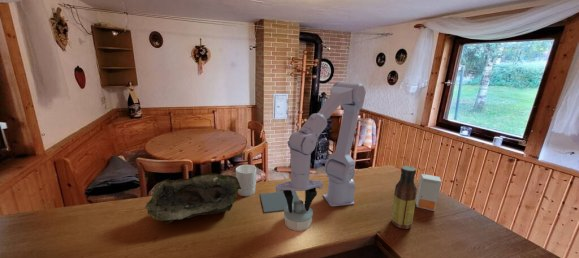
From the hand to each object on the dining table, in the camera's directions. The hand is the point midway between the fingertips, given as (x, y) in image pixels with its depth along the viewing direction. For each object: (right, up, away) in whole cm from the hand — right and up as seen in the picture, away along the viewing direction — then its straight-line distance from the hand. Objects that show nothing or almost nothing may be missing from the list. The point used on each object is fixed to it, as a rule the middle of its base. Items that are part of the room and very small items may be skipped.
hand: (298, 210), depth 76 cm
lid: (0, -1, 0) cm, 1 cm away
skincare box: (+47, -3, +13) cm, 49 cm away
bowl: (0, -4, +1) cm, 5 cm away
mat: (-6, -1, +13) cm, 14 cm away
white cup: (-20, +1, +18) cm, 27 cm away
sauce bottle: (+34, -6, +2) cm, 34 cm away
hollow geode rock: (-33, -3, +3) cm, 33 cm away
